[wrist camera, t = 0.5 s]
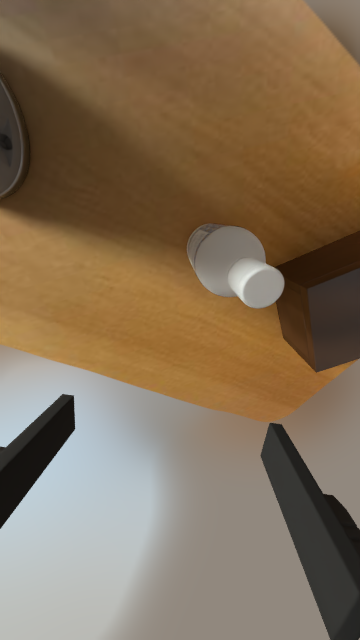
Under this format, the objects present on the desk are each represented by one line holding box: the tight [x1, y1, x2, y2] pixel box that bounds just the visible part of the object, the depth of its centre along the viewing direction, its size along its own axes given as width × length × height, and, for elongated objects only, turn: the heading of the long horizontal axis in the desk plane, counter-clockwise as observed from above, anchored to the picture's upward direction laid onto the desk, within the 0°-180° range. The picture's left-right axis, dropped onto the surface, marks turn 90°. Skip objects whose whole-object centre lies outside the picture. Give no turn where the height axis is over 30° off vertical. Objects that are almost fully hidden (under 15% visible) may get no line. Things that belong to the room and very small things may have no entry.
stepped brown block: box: [275, 231, 360, 372], centre depth 30 cm, size 16×17×10 cm
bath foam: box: [187, 224, 284, 308], centre depth 21 cm, size 7×7×20 cm
